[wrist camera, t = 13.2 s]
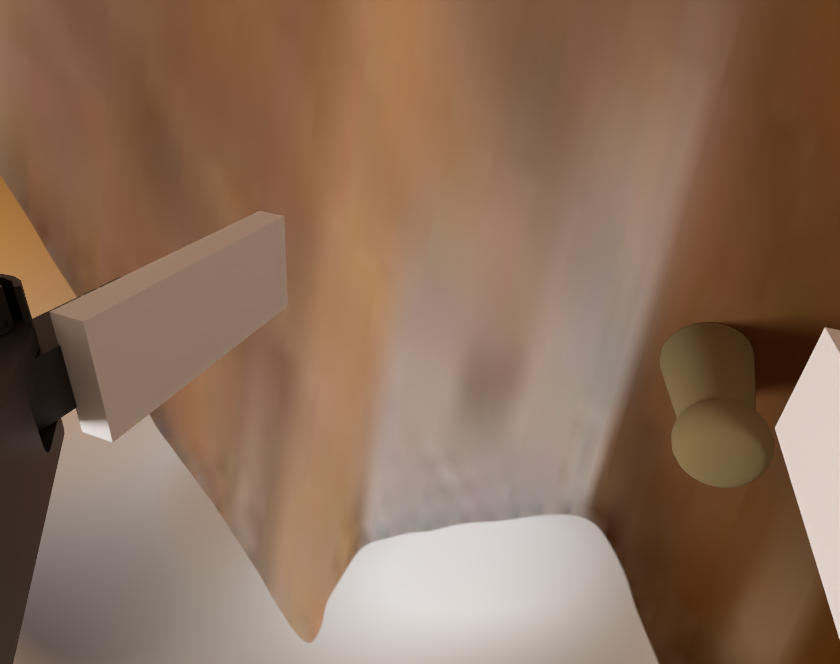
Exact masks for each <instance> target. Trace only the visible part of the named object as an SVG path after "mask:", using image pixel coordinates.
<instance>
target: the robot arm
mask: <svg viewBox="0 0 840 664" xmlns="http://www.w3.org/2000/svg"><path fill="white" fill-rule="evenodd" d="M287 306H288V301H287V275H286V250H285V224H284V216H282V215H277V214H272V213H267V212H263V211H258V212H256V213H254V214H252V215H250V216H248V217H246V218H244V219H242V220H240V221H238V222H235V223H233V224H231V225H229V226H227V227H225V228H223V229H221V230H219V231H217V232H215V233H213V234H210V235H208V236H206V237H204V238H202V239H200V240H198V241H196V242H194V243H192V244H190V245H188V246H185V247H183V248H181V249H179V250H177V251H175V252H173V253H171V254H169V255H167V256H165V257H163V258H160V259H158V260H156V261H154V262H152V263H150V264H148V265H146V266H144V267H142V268H140V269H138V270H135V271H133V272H131V273H129V274H127V275H125V276H123V277H119V278H117V279H115V280H113V281H111V282H108V283H106V284H104V285H102V286H100V288H98V289H94V290H92V291H90V292H88V293H85V294H84V295H83V296H79V297H77V298H75V299H73V300H71V301H69V302H67V303H65V304H62V305H60V306H58V307H56V308H54V309H52V310H50V311H48V312H46V313H44V314H42V315H39V316H37V317H36V318H33V319H32V317H31V314H30V310H29V307H28V304H27V300H26V297H25V293H24V290H23V287H22V283H21V280H19V279H18V278H16V277H14V276H10V275H4V274H0V664H13V661H14V656H15V652H16V648H17V643H18V639H19V634H20V630H21V625H22V621H23V616H24V612H25V607H26V603H27V598H28V594H29V590H30V584H31V581H32V576H33V572H34V567H35V563H36V558H37V554H38V549H39V545H40V540H41V536H42V531H43V527H44V521H45V518H46V513H47V509H48V505H49V500H50V496H51V491H52V486H53V482H54V478H55V473H56V469H57V464H58V460H59V455H60V451H61V446H62V442H63V437H64V427H63V423H62V420H61V417H63V416H64V415H66V414H67V413H69V412H70V411H72V410H73V409H75V408H76V410H77V414H78V418H79V422H80V425H81V429H82V432H84V433H87V434H90V435H93V436H96V437H99V438H101V439H105V440H107V441H110V442H114V441H115V440H116V439H118V438H119V437H120V436H122V435H123V434H124V433H125V432H127V431H128V430H129V429H131V428H132V427H133V426H134V425H136V424H137V423H138V422H140V421H141V420H142V419H143V418H145V417H146V416H147V415H148V414H150V413H151V412H152V411H154V410H155V409H156V408H157V407H159V406H160V405H161V404H163V403H164V402H165V401H166V400H168V399H169V398H170V397H172V396H173V395H174V394H175V393H177V392H178V391H179V390H181V389H182V388H183V387H184V386H186V385H187V384H188V383H190V382H191V381H192V380H193V379H195V378H196V377H197V376H199V375H200V374H201V373H202V372H204V371H205V370H206V369H208V368H209V367H210V366H211V365H213V364H214V363H215V362H217V361H218V360H219V359H220V358H222V357H223V356H224V355H226V354H227V353H228V352H229V351H231V350H232V349H233V348H234V347H236V346H237V345H238V344H240V343H241V342H242V341H243V340H245V339H246V338H247V337H249V336H250V335H251V334H252V333H254V332H255V331H256V330H258V329H259V328H260V327H261V326H263V325H264V324H265V323H267V322H268V321H269V320H270V319H272V318H273V317H274V316H276V315H277V314H278V313H279V312H281V311H282V310H283V309H285V308H286V307H287ZM775 430H776V433H777V437H778V440H779V443H780V446H781V450H782V453H783V456H784V459H785V463H786V466H787V469H788V473H789V476H790V479H791V482H792V486H793V489H794V492H795V495H796V499H797V502H798V505H799V508H800V512H801V515H802V518H803V521H804V525H805V528H806V531H807V534H808V538H809V541H810V544H811V547H812V551H813V554H814V557H815V560H816V564H817V567H818V570H819V574H820V577H821V580H822V583H823V587H824V590H825V593H826V596H827V600H828V603H829V606H830V609H831V613H832V616H833V619H834V622H835V626H836V629H837V632H838V635H839V639H840V330H836V329H831V328H826V327H825V328H824V330H823V332H822V334H821V336H820V338H819V340H818V342H817V344H816V346H815V348H814V350H813V352H812V354H811V356H810V358H809V360H808V362H807V364H806V366H805V368H804V370H803V372H802V374H801V376H800V378H799V380H798V382H797V384H796V387H795V389H794V391H793V393H792V395H791V397H790V399H789V401H788V403H787V405H786V407H785V409H784V411H783V413H782V415H781V417H780V419H779V421H778V423H777V425H776V427H775Z"/></svg>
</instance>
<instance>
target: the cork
mask: <svg viewBox="0 0 840 664" xmlns="http://www.w3.org/2000/svg"><path fill="white" fill-rule="evenodd" d="M659 358H660V368H661V371H662V374H663V377H664V380H665V384H666V387H667V390H668V393H669V396H670V399H671V402H672V405H673V408H674V411H675V414H676V417H677V419H676V422H675V424H674V427H673V430H672V433H671V440H672V451H673V453H674V455H675V457H676V459H677V461H678V463H679V465H680V466H681V468H683V469H684V470H685V471H686V472H687V473H688V474H689V475H690V476H692V477H693V478H695V479H697V480H698V481H700V482H702V483H704V484H707V485H711V486H715V487H737V486H742V485H745V484H748V483H750V482H752V481H754V480H756V479H757V478H758V477H759V476H760V475H761V474H762V473H763V472H765V471H766V469H767V468H768V467H769V465H770V463H771V460H772V458H773V453H774V439H773V436H772V433H771V431H770V429H769V427H768V425H767V422H766V421H765V420H764V419H763V418H762V416H761V415H760V414H758V413H757V412H756V393H755V362H754V350H753V348H752V346H751V344H750V342H749V340H748V339H747V338H746V337H745V336H744V335H743V334H742V333H741V332H740V331H738V330H736V329H734V328H732V327H729V326H727V325H724V324H718V323H713V322H708V323H696V324H693V325H690V326H687V327H684V328H682V329H680V330H679V331H677V332H676V333H674V334H673V335H671V336H670V337H669V339H668V340H667V341H666V343H665V344H664V345H663V347H662V350H661V354H660V357H659Z"/></svg>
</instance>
